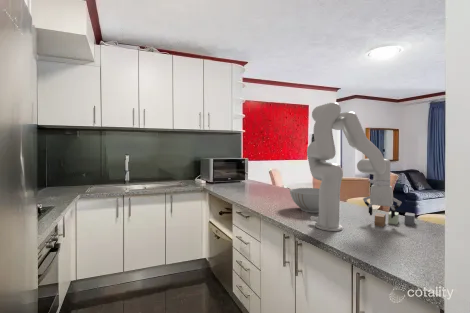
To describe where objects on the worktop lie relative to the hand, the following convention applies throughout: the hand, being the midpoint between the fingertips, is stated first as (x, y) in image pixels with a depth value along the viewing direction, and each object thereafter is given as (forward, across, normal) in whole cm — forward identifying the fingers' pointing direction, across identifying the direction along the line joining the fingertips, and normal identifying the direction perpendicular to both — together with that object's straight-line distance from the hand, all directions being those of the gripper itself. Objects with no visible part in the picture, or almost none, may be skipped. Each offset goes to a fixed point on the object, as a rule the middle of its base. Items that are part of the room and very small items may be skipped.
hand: (381, 216), depth 135 cm
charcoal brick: (+5, +12, +11) cm, 17 cm away
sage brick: (+5, +4, +8) cm, 11 cm away
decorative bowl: (+4, -40, +6) cm, 40 cm away
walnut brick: (+4, 0, -1) cm, 4 cm away
